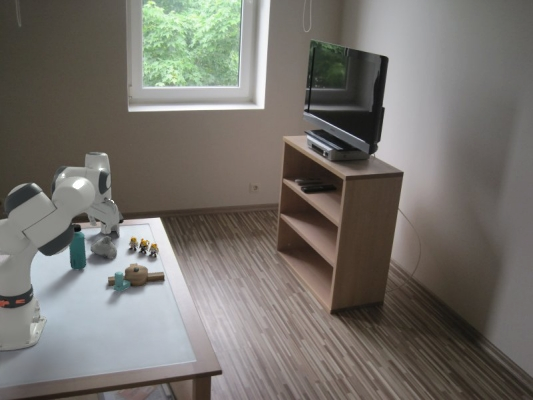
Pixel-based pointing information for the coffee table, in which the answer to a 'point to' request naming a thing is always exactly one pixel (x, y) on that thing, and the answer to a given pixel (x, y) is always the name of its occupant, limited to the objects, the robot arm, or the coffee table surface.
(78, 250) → the beverage bottle
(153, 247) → the figurine set
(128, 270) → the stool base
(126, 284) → the teal crank handle
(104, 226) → the black-topped pedestal
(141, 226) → the coffee table surface
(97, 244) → the grey clay mound
